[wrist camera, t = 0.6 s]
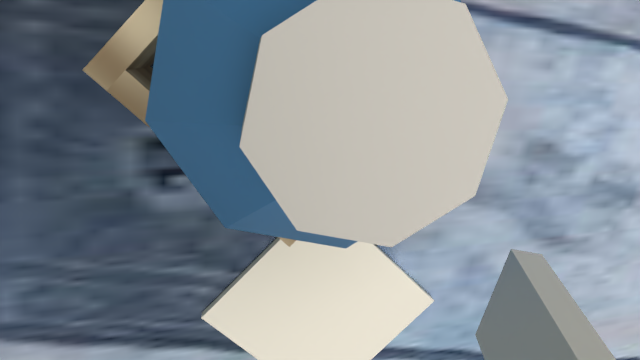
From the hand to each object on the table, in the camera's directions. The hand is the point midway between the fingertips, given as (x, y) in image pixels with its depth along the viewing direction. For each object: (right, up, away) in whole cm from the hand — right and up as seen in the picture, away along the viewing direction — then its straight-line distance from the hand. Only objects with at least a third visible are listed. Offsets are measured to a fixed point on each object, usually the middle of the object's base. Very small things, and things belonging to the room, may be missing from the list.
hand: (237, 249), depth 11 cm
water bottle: (-1, +10, +20) cm, 22 cm away
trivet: (+2, -8, +25) cm, 26 cm away
